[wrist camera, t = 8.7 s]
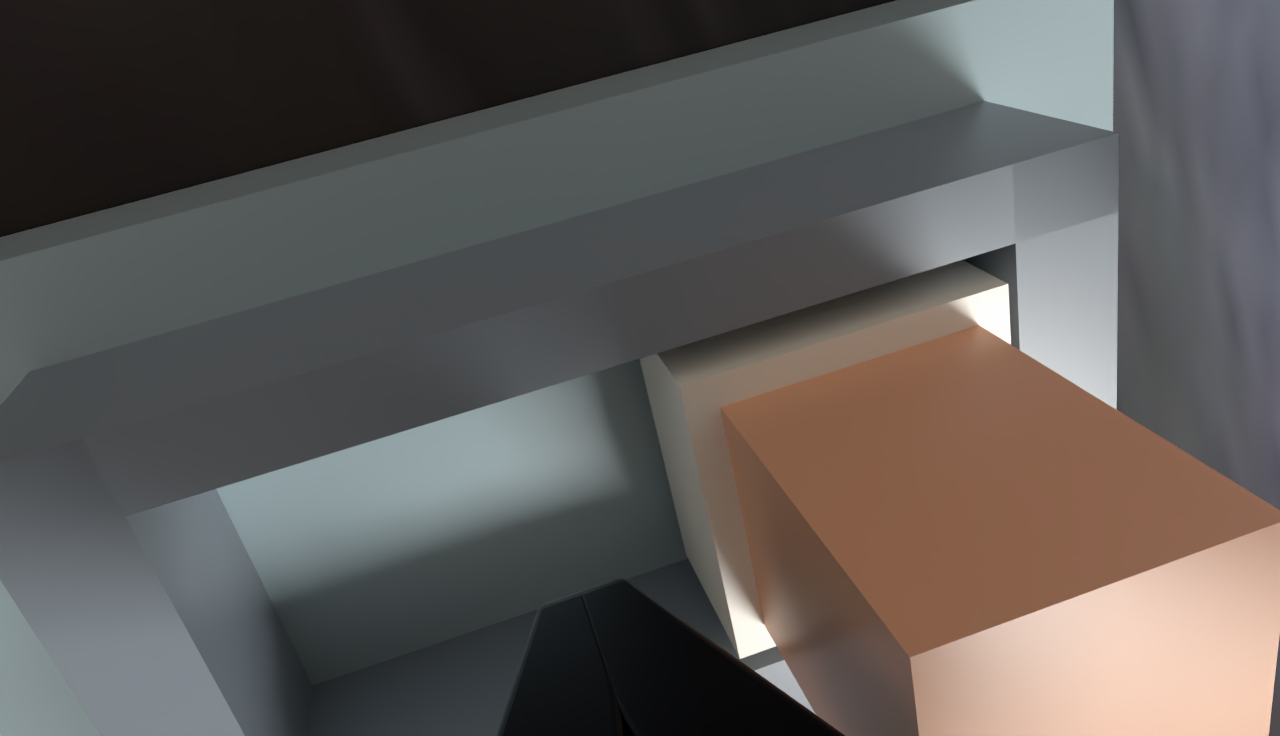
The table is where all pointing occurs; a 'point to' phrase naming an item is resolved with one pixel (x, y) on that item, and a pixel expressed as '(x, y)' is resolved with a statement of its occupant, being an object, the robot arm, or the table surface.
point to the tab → (961, 527)
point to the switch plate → (490, 360)
